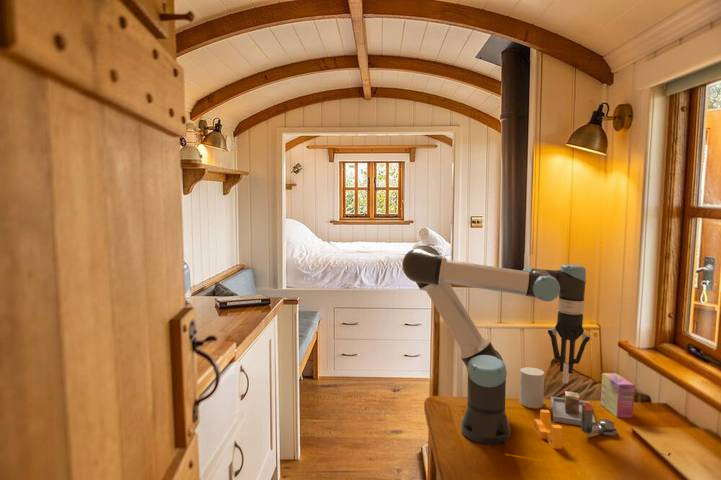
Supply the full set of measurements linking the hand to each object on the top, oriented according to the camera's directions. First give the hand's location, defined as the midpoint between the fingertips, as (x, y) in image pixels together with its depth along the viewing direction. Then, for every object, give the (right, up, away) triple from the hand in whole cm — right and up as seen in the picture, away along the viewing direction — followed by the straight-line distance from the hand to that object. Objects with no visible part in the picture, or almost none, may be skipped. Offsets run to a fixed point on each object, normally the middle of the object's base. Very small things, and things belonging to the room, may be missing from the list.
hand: (565, 381), depth 144 cm
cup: (-5, -13, +15) cm, 21 cm away
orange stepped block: (-10, -15, -10) cm, 20 cm away
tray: (+5, -13, +7) cm, 16 cm away
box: (+22, -14, +9) cm, 27 cm away
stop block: (+5, -13, +7) cm, 15 cm away
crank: (+6, -13, -7) cm, 16 cm away
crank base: (+15, -14, -11) cm, 23 cm away
